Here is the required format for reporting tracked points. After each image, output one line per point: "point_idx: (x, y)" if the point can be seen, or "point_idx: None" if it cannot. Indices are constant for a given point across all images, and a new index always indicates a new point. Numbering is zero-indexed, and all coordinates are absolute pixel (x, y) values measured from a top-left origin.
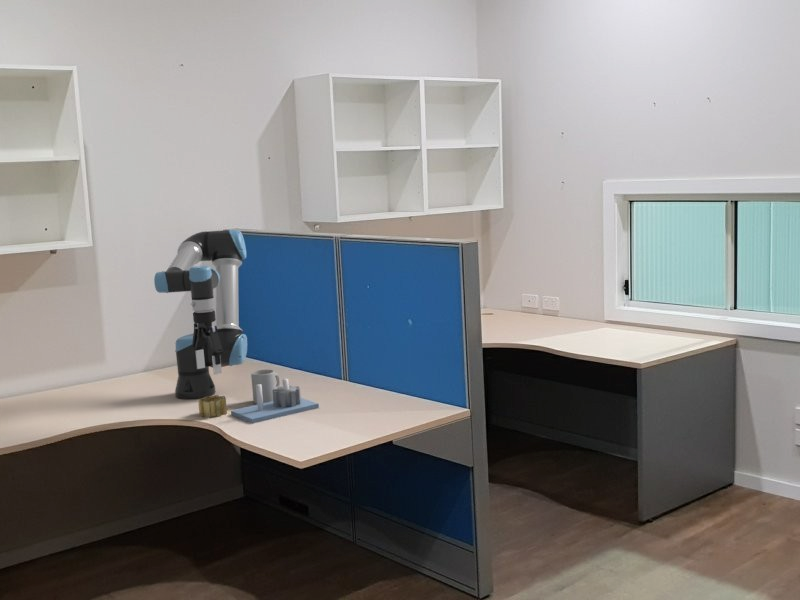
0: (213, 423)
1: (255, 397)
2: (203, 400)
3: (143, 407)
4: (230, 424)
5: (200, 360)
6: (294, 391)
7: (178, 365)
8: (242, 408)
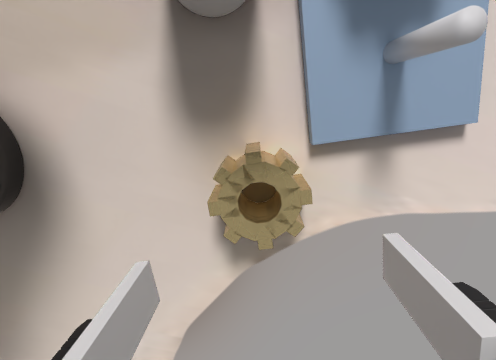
0: (363, 216)
1: (224, 6)
2: (261, 233)
3: (52, 313)
4: (415, 180)
5: (132, 321)
6: None
7: None
8: (315, 101)
